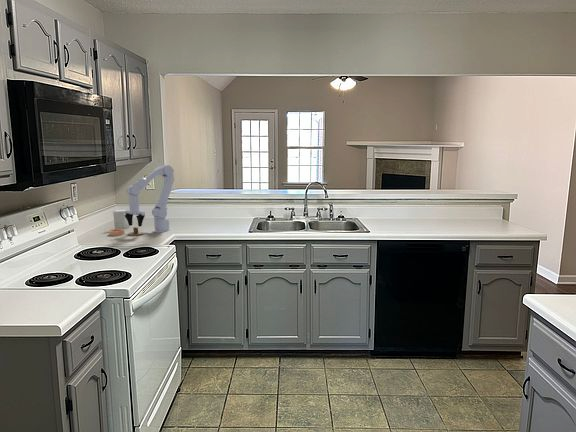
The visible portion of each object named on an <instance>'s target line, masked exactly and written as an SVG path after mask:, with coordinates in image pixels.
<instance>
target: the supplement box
mask: <svg viewBox="0 0 576 432" xmlns="http://www.w3.org/2000/svg"><path fill="white" fill-rule="evenodd" d="M125 211H129V210H128V209H116V210H114V211H113V212H112V214H113V223H114V226H113V227H114V229H124V230H127V229H129V228H130V226H129V223H128V221H127V219H126V217H125V215H126V214H125Z"/></svg>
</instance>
